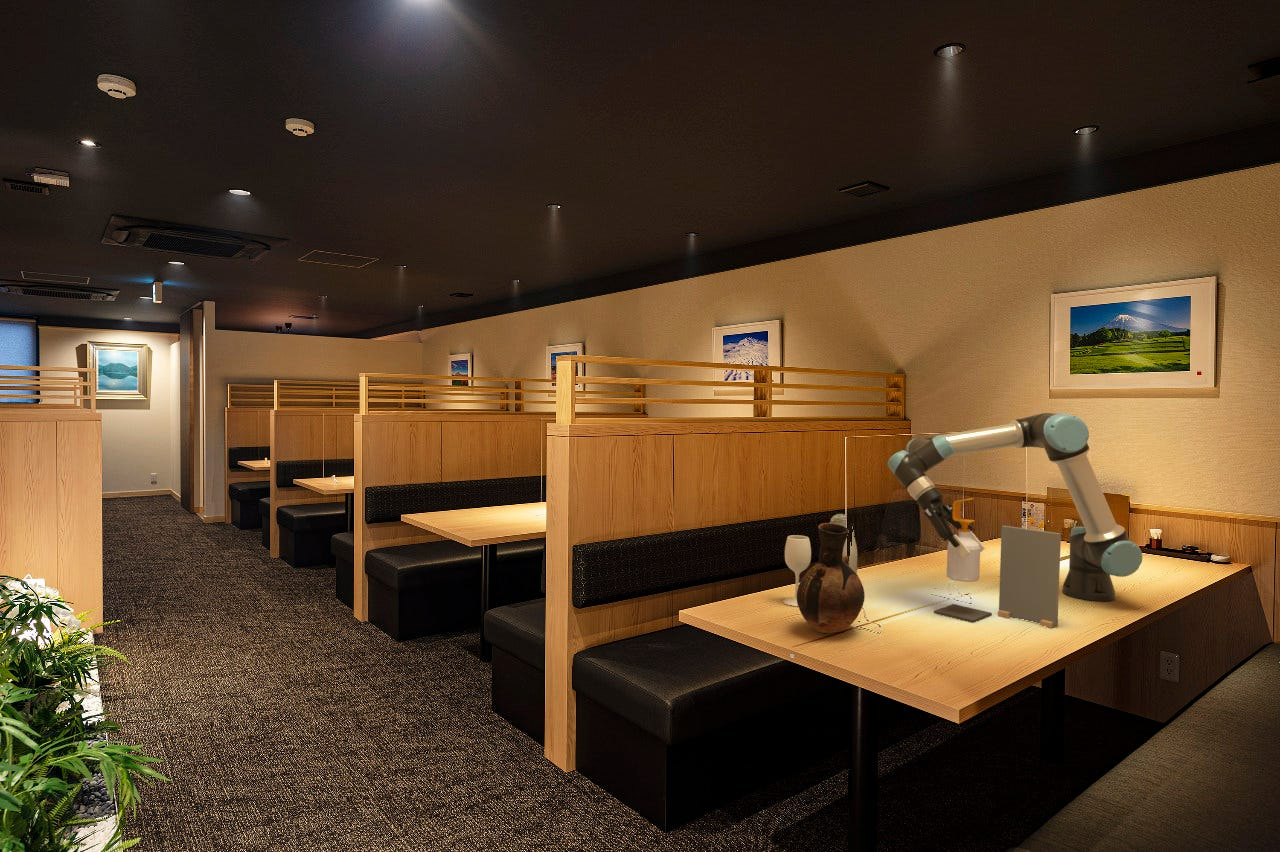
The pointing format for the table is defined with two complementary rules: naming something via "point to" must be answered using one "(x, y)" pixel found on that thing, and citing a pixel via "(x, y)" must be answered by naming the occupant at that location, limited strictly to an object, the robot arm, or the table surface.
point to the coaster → (963, 613)
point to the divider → (1029, 575)
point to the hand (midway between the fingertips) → (974, 553)
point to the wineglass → (797, 559)
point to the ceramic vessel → (831, 585)
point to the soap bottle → (970, 564)
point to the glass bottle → (841, 520)
